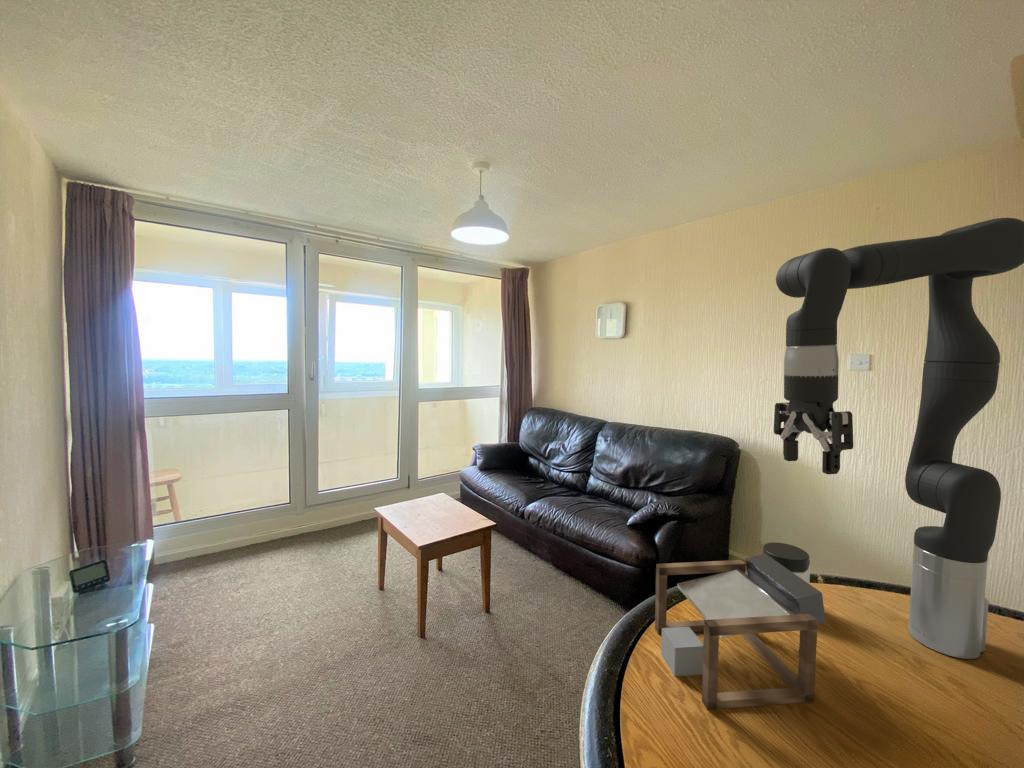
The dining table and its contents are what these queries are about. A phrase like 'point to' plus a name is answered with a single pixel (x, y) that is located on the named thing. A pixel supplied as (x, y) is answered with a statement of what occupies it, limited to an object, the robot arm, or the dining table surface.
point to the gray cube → (682, 651)
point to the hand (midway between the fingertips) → (809, 466)
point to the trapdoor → (754, 593)
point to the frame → (804, 623)
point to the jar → (790, 558)
